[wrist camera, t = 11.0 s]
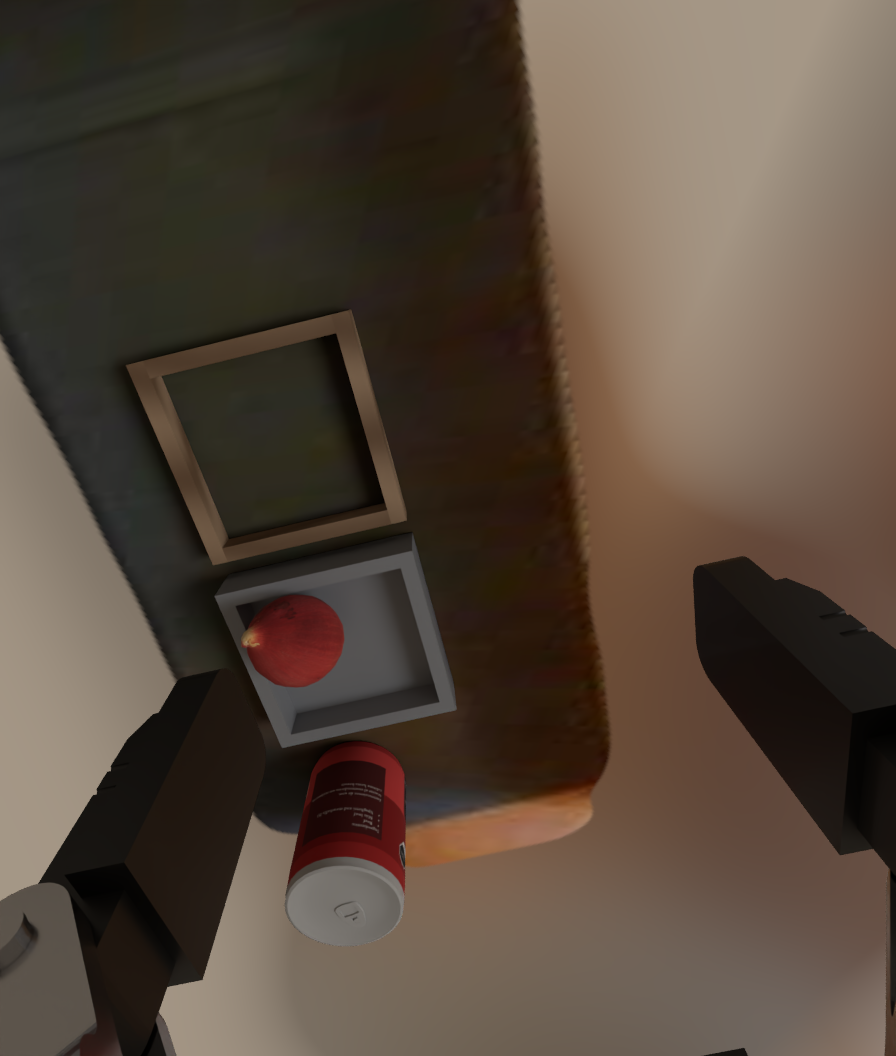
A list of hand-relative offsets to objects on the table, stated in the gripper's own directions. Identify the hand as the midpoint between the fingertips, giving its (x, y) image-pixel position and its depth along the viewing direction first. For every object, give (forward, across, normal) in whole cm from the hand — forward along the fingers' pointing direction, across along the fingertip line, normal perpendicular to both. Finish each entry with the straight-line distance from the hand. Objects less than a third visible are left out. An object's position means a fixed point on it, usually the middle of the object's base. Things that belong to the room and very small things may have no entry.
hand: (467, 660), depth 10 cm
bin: (+28, +10, +16) cm, 33 cm away
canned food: (+28, +13, +29) cm, 42 cm away
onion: (+26, +10, +16) cm, 32 cm away
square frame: (+28, +10, +1) cm, 29 cm away
